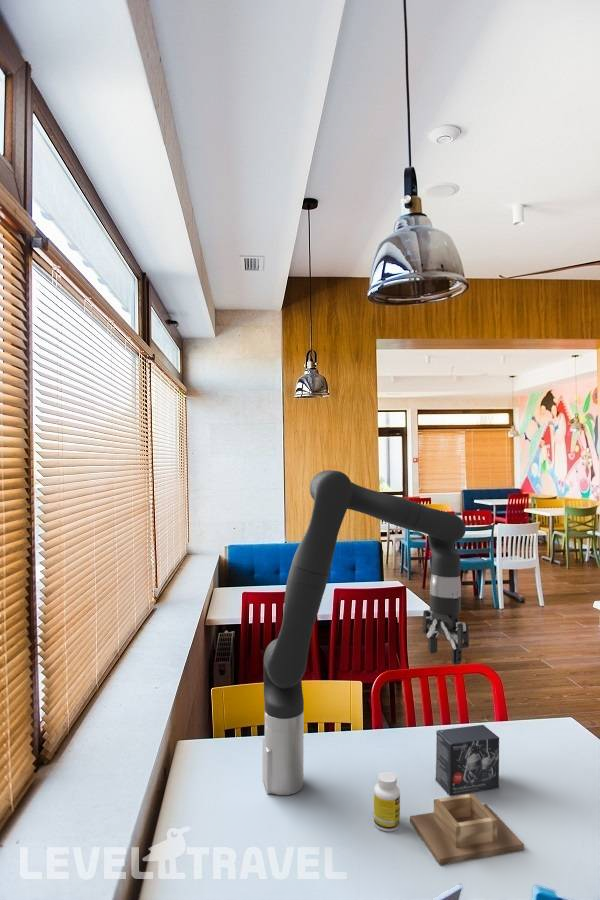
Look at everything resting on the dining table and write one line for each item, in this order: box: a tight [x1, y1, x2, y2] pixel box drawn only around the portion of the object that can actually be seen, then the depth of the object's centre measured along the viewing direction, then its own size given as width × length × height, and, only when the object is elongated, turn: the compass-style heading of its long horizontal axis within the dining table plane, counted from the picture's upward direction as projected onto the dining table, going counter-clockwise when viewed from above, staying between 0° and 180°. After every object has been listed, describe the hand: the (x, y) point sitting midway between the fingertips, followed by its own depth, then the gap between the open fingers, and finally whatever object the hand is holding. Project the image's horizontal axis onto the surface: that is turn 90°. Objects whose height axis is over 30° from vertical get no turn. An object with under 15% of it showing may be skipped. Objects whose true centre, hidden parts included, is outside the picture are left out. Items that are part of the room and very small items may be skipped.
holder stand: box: [409, 793, 525, 866], centre depth 112 cm, size 18×13×5 cm
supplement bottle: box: [373, 771, 401, 832], centre depth 116 cm, size 5×5×10 cm
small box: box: [434, 724, 500, 797], centre depth 130 cm, size 13×7×12 cm, turn 105°
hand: (444, 658), depth 138 cm, fingers open, 8 cm apart
